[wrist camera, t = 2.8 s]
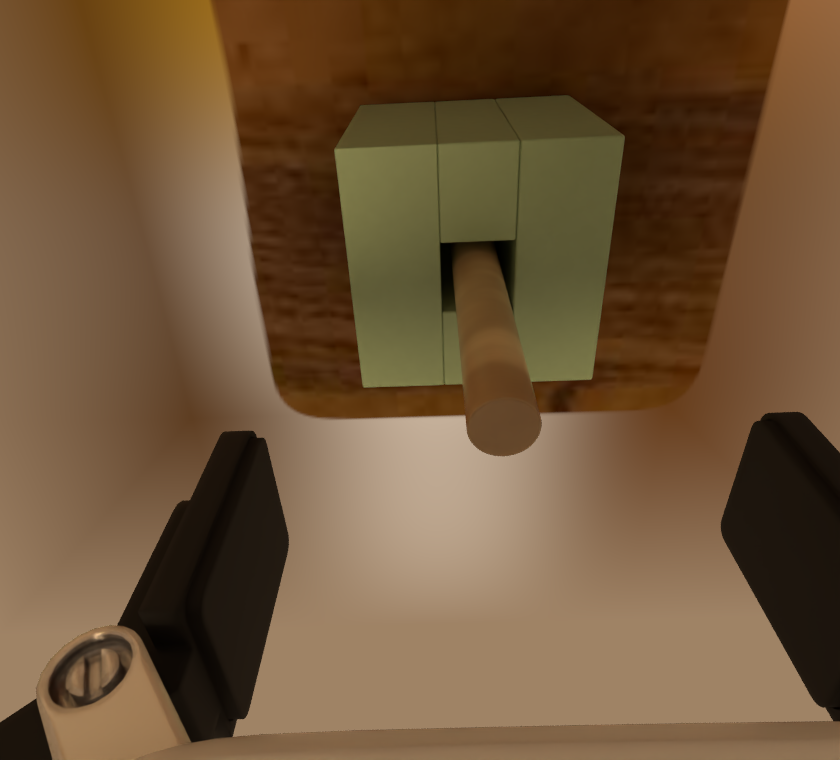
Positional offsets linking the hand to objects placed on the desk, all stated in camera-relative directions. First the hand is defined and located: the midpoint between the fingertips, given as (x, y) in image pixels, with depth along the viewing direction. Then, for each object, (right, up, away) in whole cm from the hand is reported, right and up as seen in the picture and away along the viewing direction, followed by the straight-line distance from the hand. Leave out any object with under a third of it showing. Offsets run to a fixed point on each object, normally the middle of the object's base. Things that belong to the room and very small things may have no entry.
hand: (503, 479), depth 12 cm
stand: (0, +10, +14) cm, 17 cm away
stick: (0, +10, +14) cm, 17 cm away
